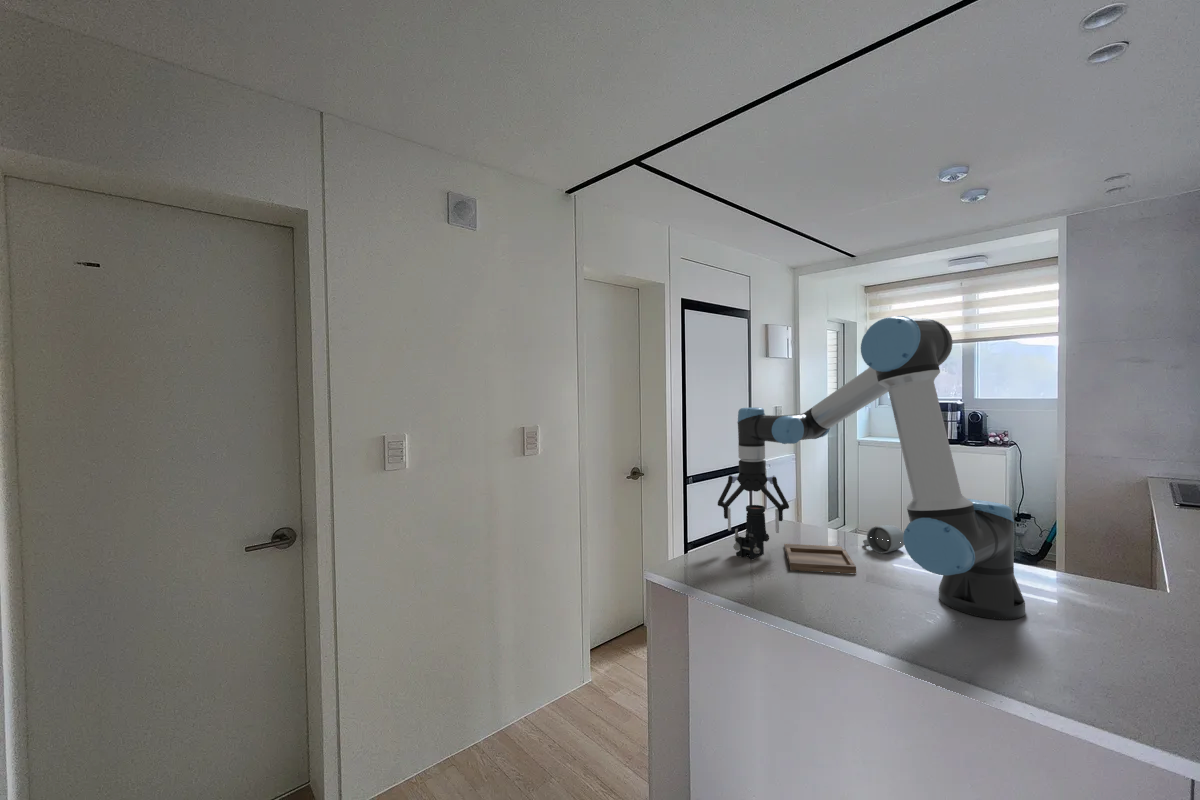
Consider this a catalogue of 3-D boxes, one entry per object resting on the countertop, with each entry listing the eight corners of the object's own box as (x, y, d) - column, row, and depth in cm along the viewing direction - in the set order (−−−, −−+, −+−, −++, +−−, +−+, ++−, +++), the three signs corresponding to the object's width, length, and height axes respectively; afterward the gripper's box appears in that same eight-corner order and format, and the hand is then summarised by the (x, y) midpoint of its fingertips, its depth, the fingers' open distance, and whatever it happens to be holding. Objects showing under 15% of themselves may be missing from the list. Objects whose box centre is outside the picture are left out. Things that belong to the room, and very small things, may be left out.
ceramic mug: (908, 551, 145) (907, 525, 145) (892, 556, 141) (891, 529, 141) (872, 542, 154) (871, 518, 154) (857, 547, 150) (855, 522, 150)
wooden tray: (856, 574, 129) (856, 566, 129) (790, 570, 133) (790, 562, 133) (841, 549, 148) (841, 543, 148) (784, 546, 152) (784, 540, 152)
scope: (732, 508, 146) (749, 502, 153) (733, 555, 147) (750, 546, 153) (757, 512, 140) (774, 506, 147) (758, 561, 141) (775, 552, 148)
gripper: (795, 458, 147) (796, 529, 147) (709, 457, 154) (711, 524, 154) (798, 462, 139) (799, 536, 140) (708, 460, 146) (709, 531, 147)
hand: (753, 530), depth 147 cm, fingers open, 13 cm apart
